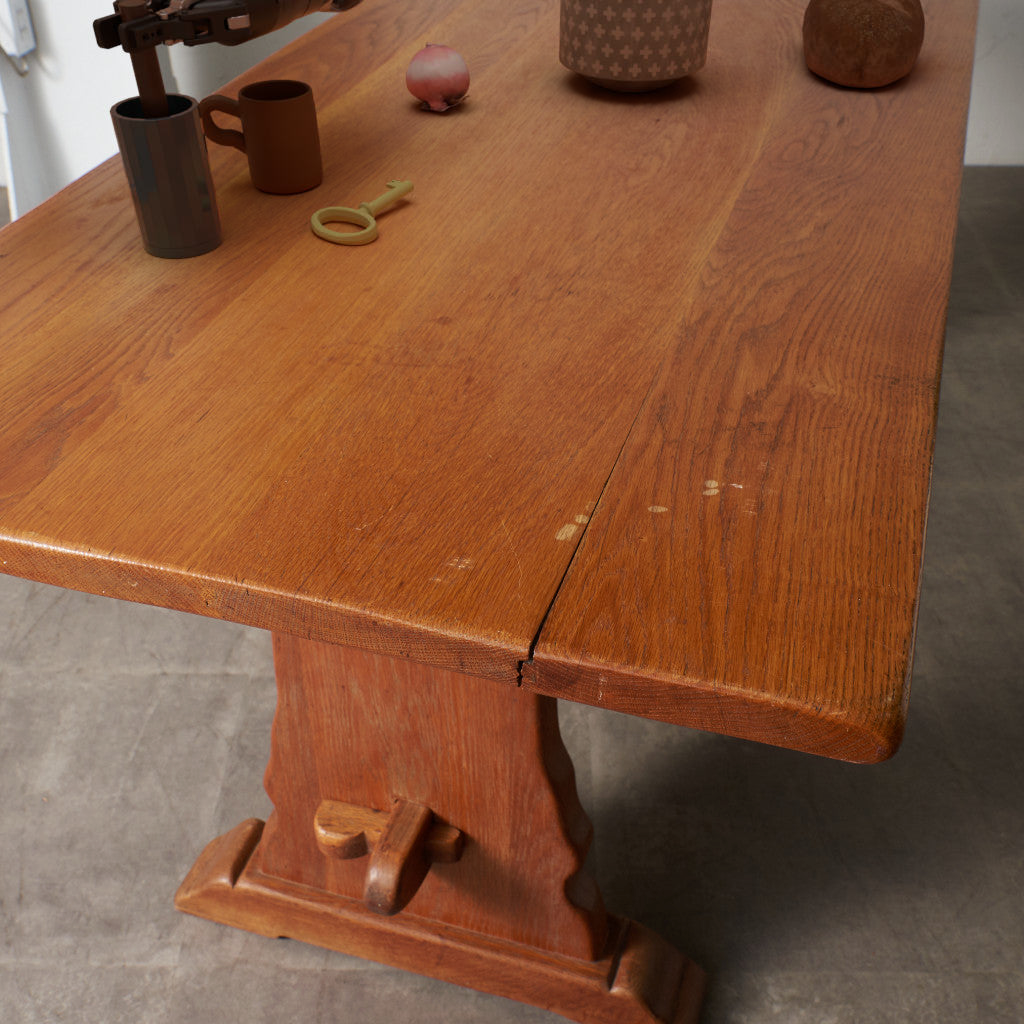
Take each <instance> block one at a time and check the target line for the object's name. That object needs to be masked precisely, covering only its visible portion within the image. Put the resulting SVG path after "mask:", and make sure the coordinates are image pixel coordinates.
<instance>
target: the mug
mask: <svg viewBox="0 0 1024 1024" xmlns="http://www.w3.org/2000/svg"><path fill="white" fill-rule="evenodd" d="M313 94H314V93H313V89H312V87H311V86H310V85H309V84H308V83H306V82H305V81H300V80H294V79H268V80H261V81H256V82H252V83H249V84H246V85H245V86H243V87H241V88H240V89H239V90H238V92H237V99H234V98H231V97H230V96H229V97H228V96H226V95H223V94H211V95H208V96H206V97H204V98H202V99H200V101H199V102H198V103H199V108H200V113H201V119H202V124H203V129H204V134H205V138H207V139H208V140H209V141H211V142H212V143H214V144H217V145H219V146H223V147H230V148H231V147H232V148H234V149H236V150H238V151H240V152H241V153H243V155H246V157H247V163H248V169H249V174H250V178H251V181H252V183H253V185H254V186H255V187H256V188H257V189H258V190H260V191H262V192H266V193H269V194H275V195H276V194H277V195H288V194H298V193H301V192H305V191H308V190H312V189H313V188H315V187H316V186H318V185H319V184H320V183H321V181H322V180H323V178H324V177H323V175H324V167H323V160H322V152H321V142H320V133H319V125H318V119H317V118H318V116H317V109H316V103H315V99H314V95H313ZM216 111H217V112H221V113H223V114H226V115H229V116H232V117H235V118H237V119H239V120H240V124H241V129H242V131H240V130H237V129H234V128H222V127H220V126H218V125H217V124H216V123H215V121H214V119H213V118H212V114H211V113H212V112H216Z"/></svg>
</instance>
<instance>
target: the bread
mask: <svg viewBox="0 0 1024 1024" xmlns="http://www.w3.org/2000/svg"><path fill="white" fill-rule="evenodd" d="M802 21H803V22H802V25H801V32H802V34H801V35H802V43H803V50H804V56H805V57H804V58H805V62H806V65H807V67H808V68H809V69H810V70H811V72H813V73H815V74H816V75H818V76H820V77H822V78H824V79H826V80H828V81H830V82H833V83H835V84H837V85H840V86H846V87H851V88H864V89H868V88H869V89H870V88H880V87H884V86H887V85H889V84H891V83H894V82H896V81H898V80H899V79H902V78H903V77H905V76H906V75H908V74H909V72H911V70H912V68H913V67H914V66H915V65H916V62H917V61H918V58H919V56H920V53H921V50H922V46H923V44H924V39H925V27H926V21H925V15H924V9H923V5H922V2H921V0H809V2H808V4H807V6H806V8H805V10H804V15H803V20H802Z"/></svg>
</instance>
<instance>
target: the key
mask: <svg viewBox="0 0 1024 1024" xmlns="http://www.w3.org/2000/svg"><path fill="white" fill-rule="evenodd" d="M385 185H386V188H387V189H390V190H388V191H387V192H385V193H383V194H381V195H380V196H378V197H376V198H375V199H373V200H372V201H370V202H366V201H363V202H360V203H359V205H358V209H357V208H351V207H346V206H327V207H324V208H321V209H318V210H317V211H315V212H314V213H313V214H312V215H311V217H310V228H311V229H312V231H313V232H314V234H315V235H316V236H318V237H319V238H321V239H323V240H326V241H329V242H333V243H336V244H340V245H347V246H348V245H349V246H361V245H367V244H370V243H371V242H373V241H375V240H376V238H377V237H378V233H379V230H378V224H377V221H376V220H375V218H376V214H378V213H379V212H381V211H383V210H384V209H386V208H387V207H389V206H390V205H392V204H394V203H395V202H397V201H399V200H400V199H402V198H404V197H405V196H407V195H409V194H410V193H411V192H413V191H414V189H415V186H414V184H413V182H412V181H411V180H409V179H406V180H404V181H400V180H396V179H392V180H391V181H389V182H387V183H386V184H385ZM333 221H343V222H347V223H348V222H349V223H353V224H357V225H359V226H361V227H363V228H365V229H364V230H360V231H356V232H340V231H334V230H331V229H329V228H327V227H325V225H323V224H325V223H329V222H333Z"/></svg>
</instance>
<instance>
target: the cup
mask: <svg viewBox="0 0 1024 1024" xmlns="http://www.w3.org/2000/svg"><path fill="white" fill-rule="evenodd" d="M166 97H167V101H168V106H169V111H170V115H171V116H169V117H162V118H154V119H145V117H144V113H143V109H142V105H141V100H140V96H139V95H136V96H132V97H128V98H125V99H123V100H119V101H118V102H116V103H114V104H113V105H111V106H110V109H109V115H110V119H111V123H112V127H113V132H114V135H115V139H116V143H117V146H118V151H119V155H120V160H121V163H122V166H123V172H124V175H125V178H126V183H127V187H128V191H129V195H130V199H131V204H132V208H133V212H134V215H135V219H136V224H137V227H138V231H139V235H140V238H141V242H142V245H143V249H144V250H145V252H147V253H148V254H150V255H152V256H154V257H158V258H163V259H185V258H193V257H197V256H201V255H204V254H206V253H207V254H208V253H209V252H212V251H213V250H215V249H217V248H218V247H219V246H220V245H221V244H223V242H224V239H225V235H224V230H223V221H222V218H221V212H220V208H219V207H220V206H219V202H218V201H219V200H218V197H217V191H216V186H215V182H214V176H213V171H212V165H211V160H210V156H209V151H208V145H207V140H206V136H205V134H204V129H203V124H202V119H201V113H200V108H199V103H200V102H199V101H198V100H197V98H195V97H193V96H190V95H187V94H183V93H174V92H166Z"/></svg>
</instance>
